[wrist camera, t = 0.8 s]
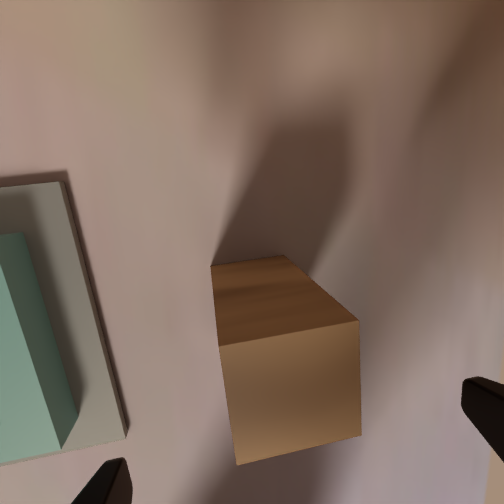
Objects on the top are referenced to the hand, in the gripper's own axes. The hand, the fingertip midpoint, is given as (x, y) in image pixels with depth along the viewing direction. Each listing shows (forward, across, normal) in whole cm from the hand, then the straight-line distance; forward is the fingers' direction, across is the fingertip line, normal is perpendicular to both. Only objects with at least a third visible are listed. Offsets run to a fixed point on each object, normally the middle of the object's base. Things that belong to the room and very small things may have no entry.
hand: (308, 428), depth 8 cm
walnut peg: (+9, 0, 0) cm, 9 cm away
